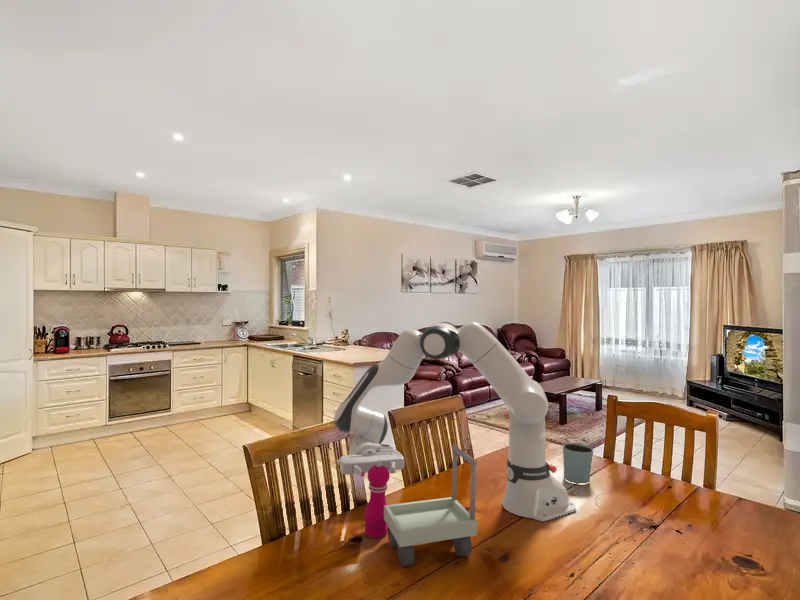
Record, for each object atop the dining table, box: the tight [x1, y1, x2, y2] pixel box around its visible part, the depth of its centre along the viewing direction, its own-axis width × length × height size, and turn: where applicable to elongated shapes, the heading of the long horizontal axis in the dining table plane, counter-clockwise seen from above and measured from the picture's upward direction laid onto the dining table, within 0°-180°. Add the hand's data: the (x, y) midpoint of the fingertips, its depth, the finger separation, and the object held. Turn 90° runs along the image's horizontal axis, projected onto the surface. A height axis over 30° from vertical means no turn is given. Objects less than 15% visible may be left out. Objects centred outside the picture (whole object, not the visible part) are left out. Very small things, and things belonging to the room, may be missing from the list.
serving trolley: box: [384, 444, 478, 567], centre depth 114 cm, size 20×14×24 cm
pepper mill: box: [363, 460, 391, 539], centre depth 121 cm, size 7×7×20 cm
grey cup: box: [562, 442, 594, 483], centre depth 160 cm, size 10×10×12 cm
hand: (377, 472), depth 133 cm, fingers open, 8 cm apart
